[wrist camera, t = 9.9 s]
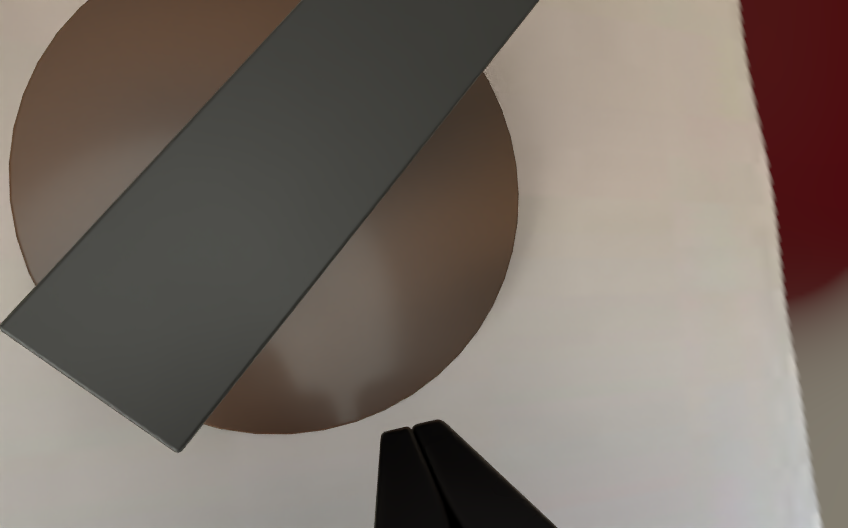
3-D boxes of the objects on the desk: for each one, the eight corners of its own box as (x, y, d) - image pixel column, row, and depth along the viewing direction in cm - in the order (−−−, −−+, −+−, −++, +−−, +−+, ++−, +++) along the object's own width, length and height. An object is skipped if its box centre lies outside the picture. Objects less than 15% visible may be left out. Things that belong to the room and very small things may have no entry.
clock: (464, 60, 20) (604, -81, 13) (187, 401, 16) (179, 455, 10) (379, -18, 19) (478, -211, 12) (75, 321, 16) (-19, 318, 9)
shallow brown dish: (586, 240, 21) (598, 237, 21) (238, 538, 17) (239, 547, 17) (335, -125, 20) (340, -141, 19) (-112, 111, 16) (-125, 101, 15)
